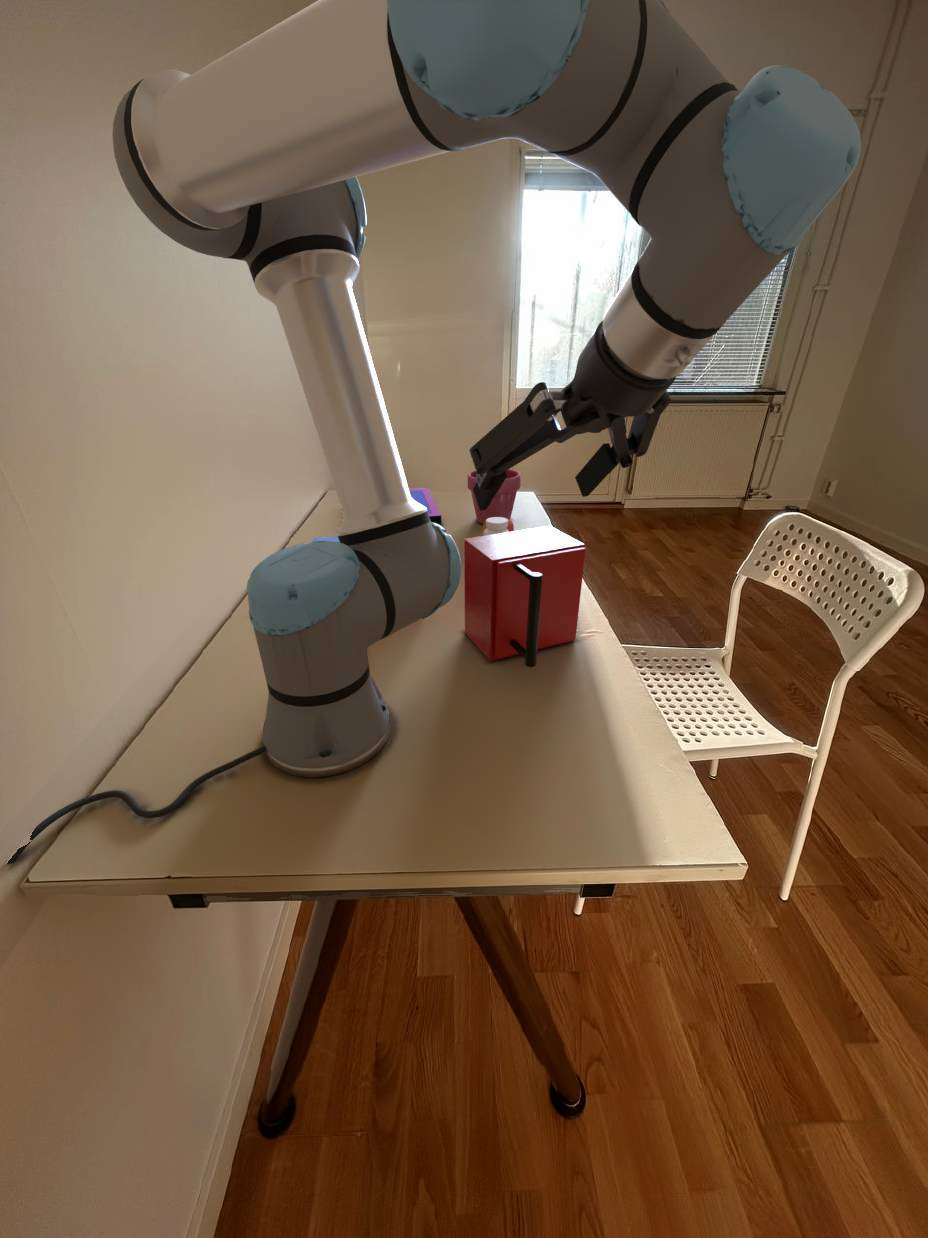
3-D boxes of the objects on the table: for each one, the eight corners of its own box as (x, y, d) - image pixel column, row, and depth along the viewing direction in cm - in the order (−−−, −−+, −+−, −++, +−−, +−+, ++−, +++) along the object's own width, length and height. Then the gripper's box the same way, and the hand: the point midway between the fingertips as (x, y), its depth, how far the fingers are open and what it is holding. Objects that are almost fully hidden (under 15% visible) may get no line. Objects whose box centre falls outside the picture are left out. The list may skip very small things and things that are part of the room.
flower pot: (464, 513, 147) (464, 468, 141) (513, 511, 148) (515, 466, 142) (471, 529, 134) (471, 480, 128) (523, 527, 136) (526, 478, 130)
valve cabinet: (574, 640, 84) (585, 544, 76) (490, 661, 79) (492, 560, 71) (543, 615, 92) (550, 525, 84) (464, 632, 87) (464, 538, 79)
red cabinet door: (599, 658, 77) (613, 562, 70) (516, 681, 73) (521, 579, 65) (572, 637, 83) (582, 546, 76) (494, 656, 78) (496, 560, 71)
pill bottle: (489, 570, 110) (490, 525, 106) (478, 561, 115) (478, 517, 110) (513, 566, 112) (515, 521, 108) (501, 557, 117) (502, 514, 112)
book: (360, 520, 132) (360, 491, 158) (361, 531, 134) (361, 500, 160) (441, 515, 135) (427, 487, 161) (441, 526, 137) (428, 497, 163)
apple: (485, 552, 120) (485, 518, 116) (480, 541, 126) (480, 509, 122) (516, 550, 121) (517, 517, 117) (509, 540, 127) (511, 508, 123)
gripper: (516, 392, 35) (441, 536, 54) (773, 380, 44) (630, 508, 63) (483, 305, 37) (422, 475, 56) (736, 311, 46) (608, 456, 65)
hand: (532, 493), depth 60 cm, fingers open, 13 cm apart
